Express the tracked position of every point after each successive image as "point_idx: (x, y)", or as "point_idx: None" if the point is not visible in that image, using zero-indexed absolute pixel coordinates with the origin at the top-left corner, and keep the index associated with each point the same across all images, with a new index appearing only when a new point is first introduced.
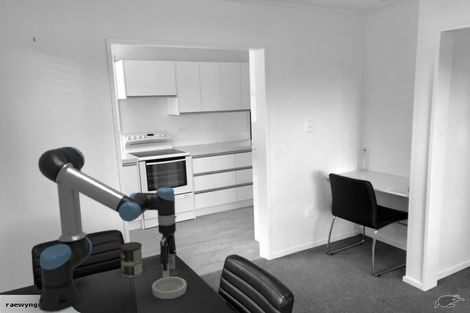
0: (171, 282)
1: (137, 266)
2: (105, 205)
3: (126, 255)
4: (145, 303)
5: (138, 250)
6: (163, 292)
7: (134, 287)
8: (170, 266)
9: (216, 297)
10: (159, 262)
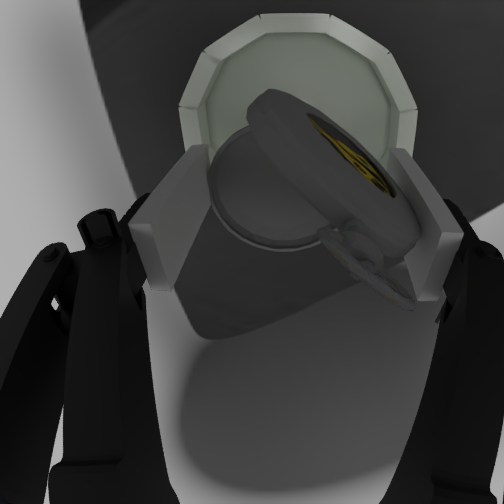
0: (384, 116)
1: None
2: None
3: None
4: (132, 43)
5: None
6: (182, 130)
7: None
8: (391, 172)
9: (261, 322)
10: (250, 117)
